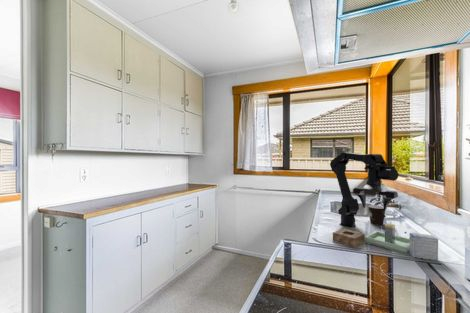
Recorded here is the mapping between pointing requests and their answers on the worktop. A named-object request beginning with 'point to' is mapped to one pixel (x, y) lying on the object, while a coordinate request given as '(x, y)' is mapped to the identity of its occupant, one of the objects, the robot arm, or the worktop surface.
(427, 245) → the medicine box
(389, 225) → the pin
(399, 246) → the tray
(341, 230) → the brown block with hole
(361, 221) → the worktop surface
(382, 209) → the coffee mug
